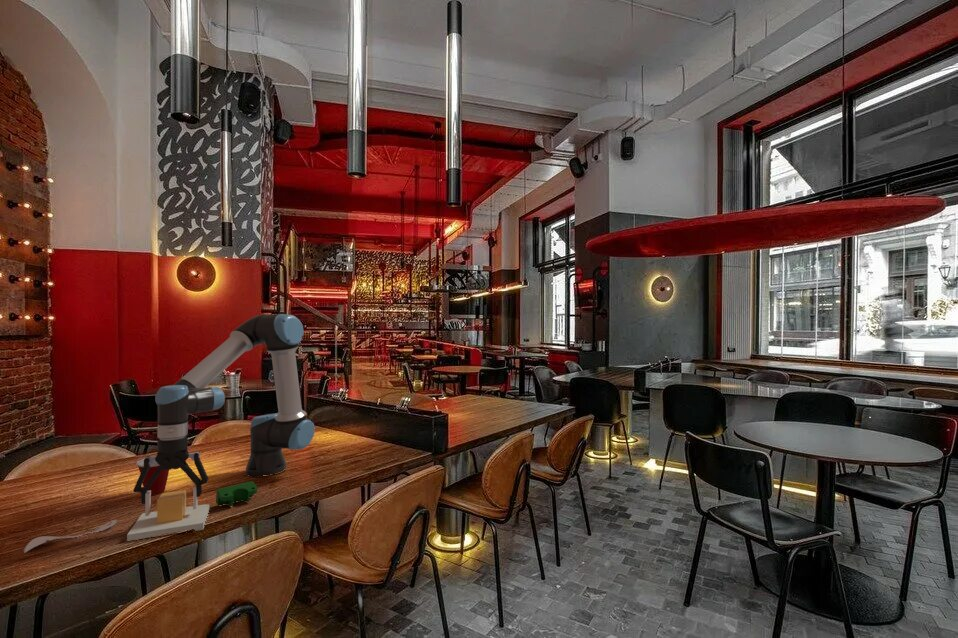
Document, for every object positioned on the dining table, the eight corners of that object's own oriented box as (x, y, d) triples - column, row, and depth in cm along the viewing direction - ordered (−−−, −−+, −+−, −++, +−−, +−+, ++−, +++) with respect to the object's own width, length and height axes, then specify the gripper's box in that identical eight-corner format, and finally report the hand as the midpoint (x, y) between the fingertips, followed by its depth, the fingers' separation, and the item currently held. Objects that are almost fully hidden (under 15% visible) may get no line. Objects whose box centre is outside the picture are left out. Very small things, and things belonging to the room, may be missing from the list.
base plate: (210, 509, 147) (210, 486, 147) (203, 529, 132) (203, 503, 132) (142, 519, 139) (142, 494, 139) (127, 542, 125) (127, 514, 125)
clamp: (226, 521, 148) (216, 501, 144) (221, 512, 152) (211, 492, 148) (263, 499, 155) (254, 479, 151) (256, 490, 159) (248, 471, 155)
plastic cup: (132, 500, 155) (133, 465, 155) (139, 490, 164) (139, 457, 164) (170, 495, 160) (171, 461, 160) (174, 485, 169) (175, 453, 169)
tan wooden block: (185, 512, 140) (186, 490, 140) (182, 520, 134) (182, 496, 134) (161, 515, 137) (162, 493, 137) (157, 523, 131) (157, 500, 132)
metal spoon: (114, 511, 137) (119, 515, 134) (115, 523, 137) (119, 527, 134) (20, 540, 121) (23, 545, 118) (21, 553, 121) (24, 558, 118)
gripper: (120, 444, 128) (119, 522, 127) (216, 436, 138) (215, 508, 137) (128, 438, 135) (127, 513, 134) (219, 431, 144) (218, 500, 144)
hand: (172, 510), depth 136 cm, fingers open, 11 cm apart
